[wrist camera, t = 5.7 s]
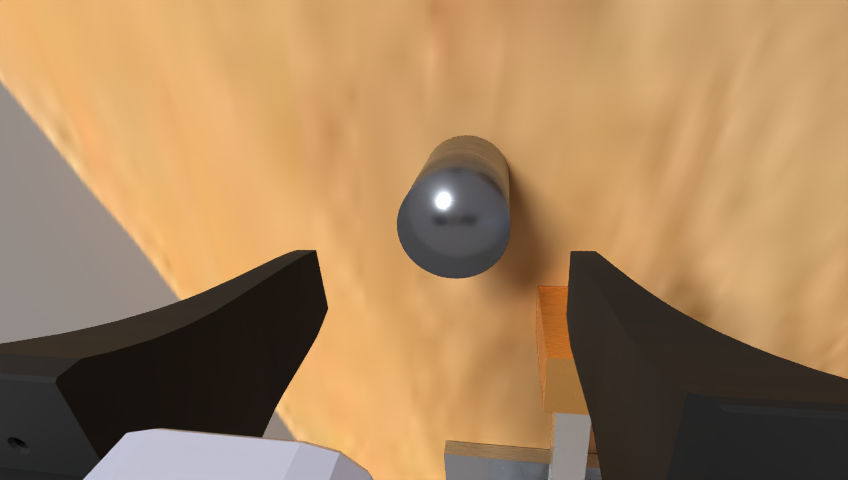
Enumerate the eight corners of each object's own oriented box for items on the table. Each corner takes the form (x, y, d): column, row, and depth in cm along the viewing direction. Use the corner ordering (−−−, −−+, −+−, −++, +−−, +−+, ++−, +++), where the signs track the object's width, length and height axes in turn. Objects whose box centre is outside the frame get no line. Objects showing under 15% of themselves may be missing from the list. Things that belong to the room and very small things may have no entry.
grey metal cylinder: (509, 133, 19) (510, 173, 14) (508, 216, 21) (509, 279, 16) (421, 137, 20) (391, 176, 15) (427, 216, 22) (402, 277, 16)
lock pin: (599, 287, 22) (625, 361, 17) (578, 478, 28) (593, 573, 23) (537, 286, 22) (546, 357, 18) (530, 473, 29) (535, 565, 24)
